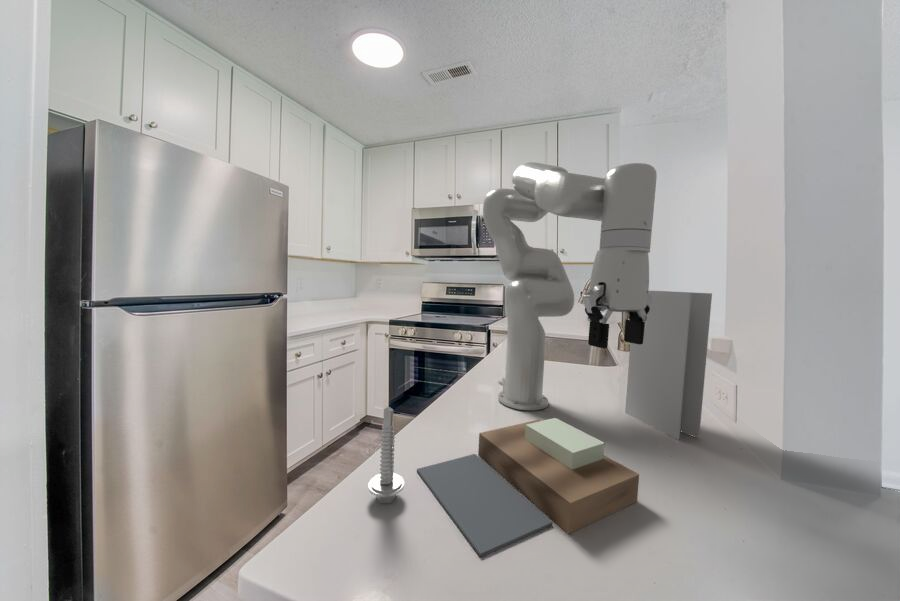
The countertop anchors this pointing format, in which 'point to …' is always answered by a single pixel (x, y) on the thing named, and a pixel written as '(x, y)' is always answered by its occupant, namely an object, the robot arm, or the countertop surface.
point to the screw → (387, 465)
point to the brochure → (670, 363)
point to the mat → (482, 503)
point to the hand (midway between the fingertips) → (616, 344)
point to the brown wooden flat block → (559, 479)
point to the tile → (564, 442)
